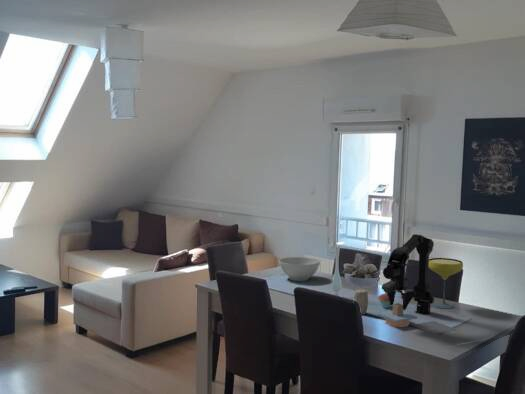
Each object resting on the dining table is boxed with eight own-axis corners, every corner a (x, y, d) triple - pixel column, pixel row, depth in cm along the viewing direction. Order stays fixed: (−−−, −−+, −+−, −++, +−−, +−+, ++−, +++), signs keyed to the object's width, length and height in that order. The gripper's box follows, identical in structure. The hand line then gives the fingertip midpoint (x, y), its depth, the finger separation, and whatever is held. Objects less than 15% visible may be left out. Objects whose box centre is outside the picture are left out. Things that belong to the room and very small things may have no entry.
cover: (399, 311, 276) (399, 299, 276) (417, 318, 265) (417, 306, 264) (378, 314, 270) (378, 302, 270) (396, 321, 259) (396, 309, 258)
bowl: (398, 319, 275) (399, 312, 275) (414, 326, 265) (414, 318, 265) (381, 322, 270) (381, 314, 270) (396, 329, 261) (396, 320, 260)
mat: (434, 321, 273) (434, 320, 273) (457, 330, 259) (457, 329, 259) (410, 325, 266) (410, 324, 266) (433, 335, 253) (433, 334, 253)
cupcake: (390, 309, 293) (391, 287, 292) (375, 307, 297) (376, 285, 296) (396, 306, 300) (396, 284, 299) (381, 303, 305) (381, 282, 304)
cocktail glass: (468, 307, 299) (469, 262, 297) (447, 312, 289) (449, 265, 287) (440, 299, 314) (441, 256, 312) (419, 304, 304) (421, 259, 302)
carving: (367, 315, 282) (368, 292, 281) (352, 314, 284) (353, 291, 283) (367, 311, 289) (368, 289, 288) (353, 310, 290) (353, 288, 289)
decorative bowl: (270, 279, 359) (271, 261, 358) (292, 272, 380) (292, 255, 380) (306, 285, 343) (306, 266, 342) (326, 278, 365) (327, 260, 364)
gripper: (373, 273, 271) (372, 304, 272) (398, 281, 254) (397, 314, 255) (391, 271, 276) (390, 302, 277) (417, 279, 259) (416, 311, 260)
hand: (397, 307), depth 267 cm, fingers open, 9 cm apart
